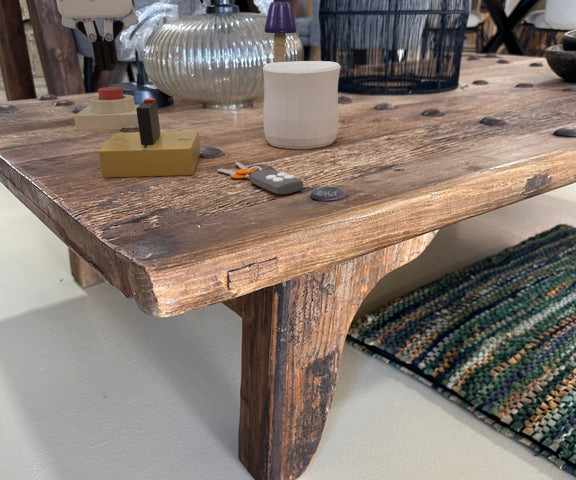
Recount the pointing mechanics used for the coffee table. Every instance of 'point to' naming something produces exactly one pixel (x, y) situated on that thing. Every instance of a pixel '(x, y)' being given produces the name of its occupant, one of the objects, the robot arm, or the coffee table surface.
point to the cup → (301, 104)
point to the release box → (107, 114)
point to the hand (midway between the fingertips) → (107, 69)
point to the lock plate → (150, 155)
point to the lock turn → (148, 121)
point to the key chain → (267, 179)
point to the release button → (110, 93)
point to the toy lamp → (280, 26)
